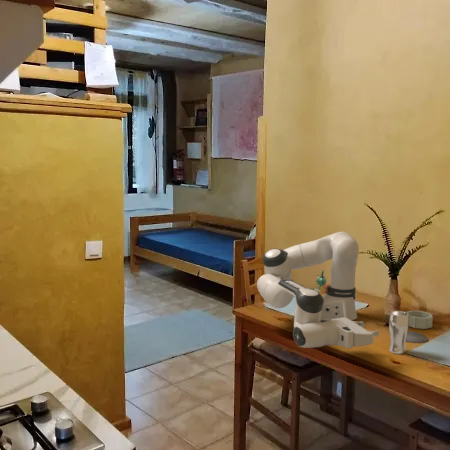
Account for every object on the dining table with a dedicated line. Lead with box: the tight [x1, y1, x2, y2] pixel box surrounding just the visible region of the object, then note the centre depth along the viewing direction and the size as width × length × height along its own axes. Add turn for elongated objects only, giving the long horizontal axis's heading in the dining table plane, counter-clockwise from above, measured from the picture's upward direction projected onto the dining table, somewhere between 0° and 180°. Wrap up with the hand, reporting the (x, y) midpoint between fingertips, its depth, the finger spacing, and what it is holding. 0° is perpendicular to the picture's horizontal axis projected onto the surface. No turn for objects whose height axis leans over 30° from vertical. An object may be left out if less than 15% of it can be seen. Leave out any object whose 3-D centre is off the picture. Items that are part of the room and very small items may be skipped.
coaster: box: [405, 331, 429, 344], centre depth 207 cm, size 12×12×1 cm
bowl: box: [405, 310, 434, 330], centre depth 221 cm, size 11×11×5 cm
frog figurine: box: [315, 269, 327, 296], centre depth 267 cm, size 10×18×15 cm, turn 96°
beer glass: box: [388, 310, 409, 355], centre depth 192 cm, size 7×7×15 cm
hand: (370, 328), depth 187 cm, fingers open, 8 cm apart
